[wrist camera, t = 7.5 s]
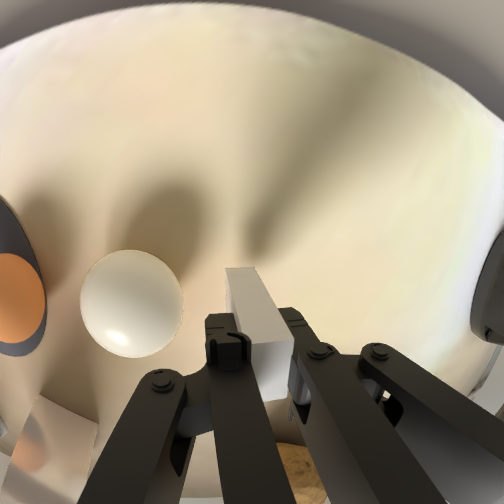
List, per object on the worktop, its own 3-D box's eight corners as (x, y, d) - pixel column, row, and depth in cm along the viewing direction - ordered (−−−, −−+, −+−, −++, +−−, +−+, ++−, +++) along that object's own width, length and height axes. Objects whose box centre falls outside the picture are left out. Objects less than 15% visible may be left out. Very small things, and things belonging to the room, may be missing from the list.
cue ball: (73, 297, 8) (62, 252, 12) (117, 395, 10) (89, 335, 14) (198, 255, 11) (150, 227, 15) (210, 351, 13) (163, 306, 17)
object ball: (18, 263, 9) (-52, 278, 7) (49, 357, 11) (-18, 363, 8) (41, 237, 14) (-18, 250, 11) (59, 311, 15) (2, 320, 13)
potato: (302, 402, 21) (336, 473, 13) (326, 455, 26) (349, 502, 18) (203, 437, 20) (211, 509, 13) (254, 481, 25) (268, 529, 18)
